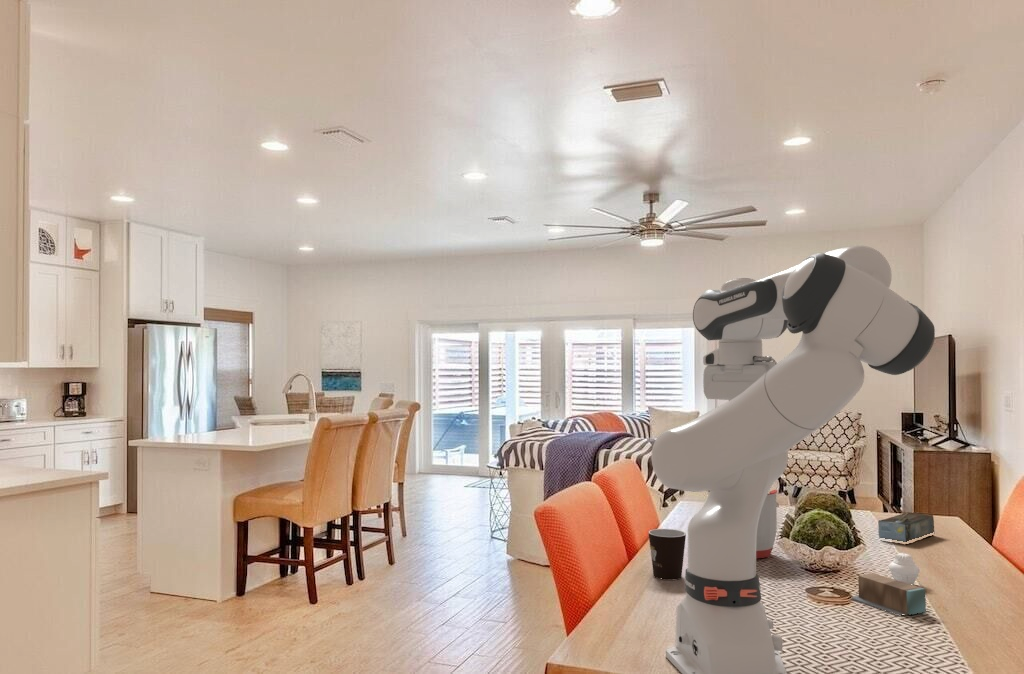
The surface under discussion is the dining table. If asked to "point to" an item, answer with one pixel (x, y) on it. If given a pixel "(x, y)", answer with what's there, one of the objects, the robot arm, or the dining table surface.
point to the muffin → (904, 568)
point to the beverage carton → (906, 526)
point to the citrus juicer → (767, 526)
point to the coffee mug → (667, 552)
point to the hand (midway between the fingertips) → (741, 422)
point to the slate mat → (876, 605)
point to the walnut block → (892, 593)
